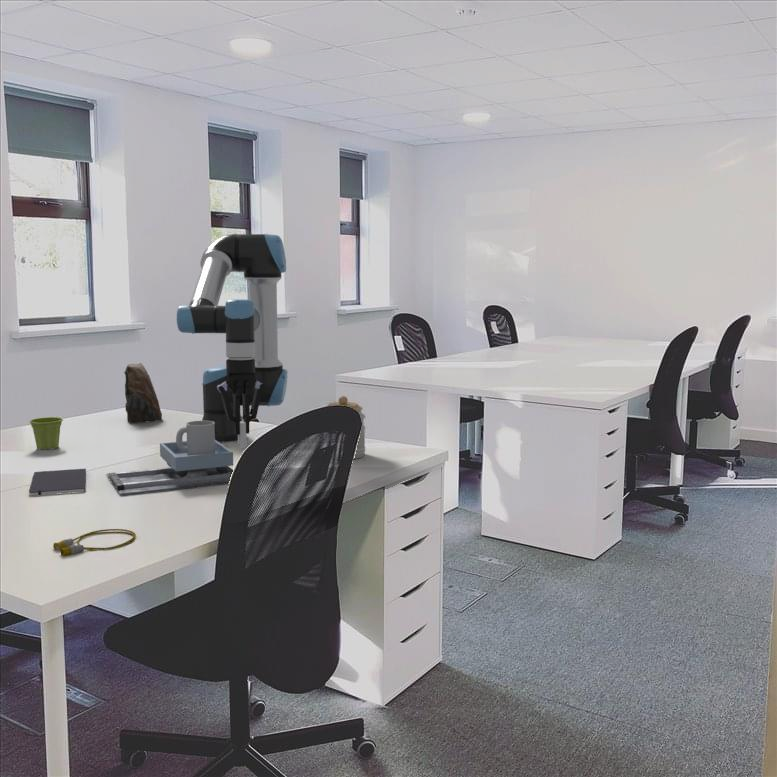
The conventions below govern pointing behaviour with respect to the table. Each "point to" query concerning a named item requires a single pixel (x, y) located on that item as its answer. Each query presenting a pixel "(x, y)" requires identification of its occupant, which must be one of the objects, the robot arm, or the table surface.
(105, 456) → the table surface
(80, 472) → the notebook
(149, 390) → the brown rock
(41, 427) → the plant pot
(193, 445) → the cup
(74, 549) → the extension cord
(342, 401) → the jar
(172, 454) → the cart
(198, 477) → the track
